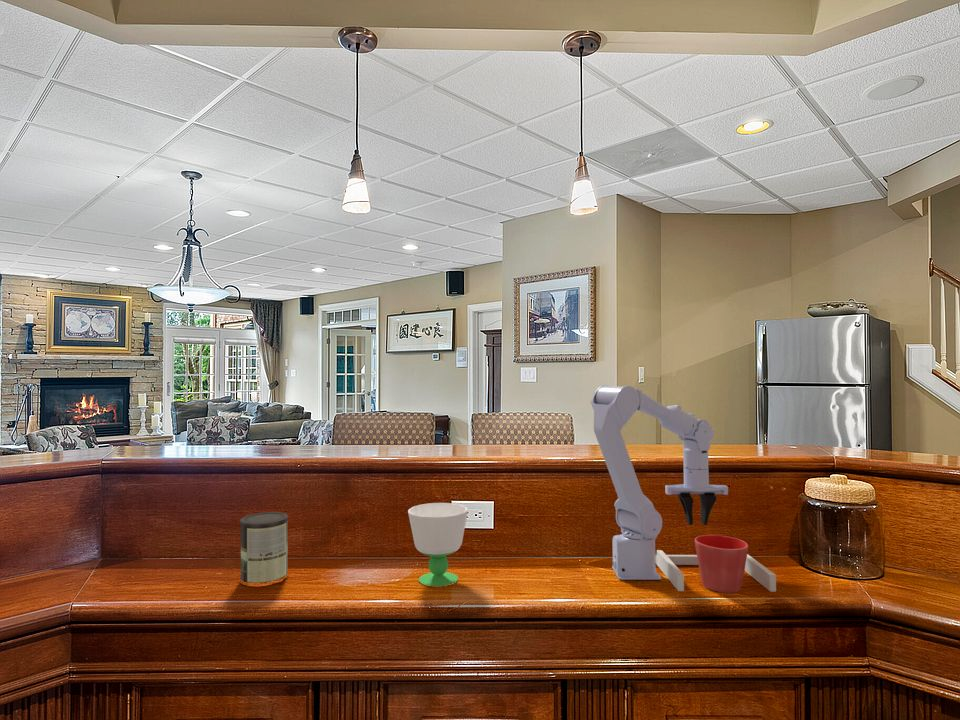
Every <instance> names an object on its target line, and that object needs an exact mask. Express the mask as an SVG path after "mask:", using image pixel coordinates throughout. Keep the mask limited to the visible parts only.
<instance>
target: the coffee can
mask: <svg viewBox="0 0 960 720" xmlns="http://www.w3.org/2000/svg"><path fill="white" fill-rule="evenodd" d="M288 520H289V515H288V514H287V513H284V512H279V511H265V512H257V513H252V514H248V515H245V516H244V517H242V518H240V519H239V523H240V581H241V580H242V581H244V582H247V583H267V582H271V581H275V580H278V579H281V578H283V577H285V576H286V575H287V574H288V573H289V572H288V562H289V561H288V560H289V559H288V549H289V548H288V546H289V545H288Z"/></svg>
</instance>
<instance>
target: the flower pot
mask: <svg viewBox="0 0 960 720" xmlns="http://www.w3.org/2000/svg"><path fill="white" fill-rule="evenodd" d="M694 545H695V551H696V555H697V558H698V564H699V565H698V570H699V573H700V574H699V576H700V579H701V583H702V585H703V586H704V588H707V589H708V590H711V591H714V592H719V593H737V592H739V591H740V590H741V589H742V584H743V581H744V580H743V579H744V575H745V564H746V559H747V554H748V552H749V544H748V543H747V542H746V541H744V540H742V539H739V538H736V537H733V536H728V535H727V536H726V535H720V534H719V535H718V534H705V535H704V534H703V535H698V536H696V537H695V538H694Z"/></svg>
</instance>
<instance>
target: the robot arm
mask: <svg viewBox="0 0 960 720" xmlns="http://www.w3.org/2000/svg"><path fill="white" fill-rule="evenodd" d="M590 404H591V406H592V410H593V431H594V434H595V435H594V436H595V437H596V441H597V443H598V446H599V448H600V451H601V454H602V457H603V459H604V463H605V465H606V467H607V470H608V473H609V477H610V478H611V481H612V484H613V487H614V489H615V493H616V494H617V495H616V496H617V499H616V500H615V502H614V504H613V506H614V509H615V521H616V524H617V525H618V527H619V528H620V532H621V534H616V535H613V537H612V543H611V544H612V566H611V569H613V572H614V574H615V575H616V577H617V579H618V580H621V581H622V580H625V581H626V580H627V581H629V580H631V581H633V580H637V581H638V580H640V581H641V580H642V581H647V580H649V581H653V580H654V581H655V580H659V581H660V580H662V577H661V575H660V574H659V573H658V571H657V570H656V566H657V565H656V539H657V538H658V535H659V534H660V532H661V530H662V528H663V518H662V515H661V514H660V513H659V511H657V510H656V508H655V506H654V504H653V502H652V501H651V500H650V499H649V498H648V497H647V496H646V495H645V494H644V493H643V490H642V488H641V486H640V482H639V480H638V477H637V475H636V474H637V473H636V472H635V469H634V466H633V465H634V464H632V459H631V457H630V454H629V451H628V449H627V446H626V444H625V441H624V438H623V435H622V432H621V431H622V429H623V428H624V427H625V426H626V424H627V423H628V422H629V420H630V419H631V418H632V417H633V416H634V414H635V413H636V412H637V411H640V412H642V413H644V414H646V415H648V416H650V417H653V418H656V419H658V422H659V424H660V426H661V427H662V428H664V429H665V430H668V431H670V432H671V433H674V434H675V435H677V436H678V438H679V440H681V441H682V446H683V447H682V449H683V450H682V451H683V452H682V453H683V454H682V455H683V458H682V459H683V483H682V484H681V483H680V484H668V485H667V484H666V485H665V490H664V492H665V494H666V495H668V496H671V495H677V497H678V500H679V501H680V504H681V507H682V508H683V512H684V515H685V519H686V524H688V526H693V523H694V521H693V520H694V519H693V509H694V508H693V507H694V497H692V495H698V496H699V502H700V523H701V524H702V525H704V526H708V521H709V517H710V514H711V511H712V509H713V507H714V505H715V503H716V502H717V495H725V496H728V495H729V487H728V486H727V485H726V484H725V485H724V484H710V477H709V476H710V475H709V473H710V472H709V469H710V468H709V450H710V448H711V443H712V439H713V438H714V434H715V433H714V430H713V427H712V425H711V424H710V422H709V421H708V420H706V419H699V418H697V417H696V415H695V414H693V413H690V412H689V413H688V412H686V411H684V410H682V406H680V405H676V404H673V405H668V406H665V405H663V404H662V403H660V402H658V401H657V400H655V399H653V398H652V397H650V396H648V395H647V394H645V393H644V392H643V391H642V390H641V389H638V388H637V389H636V388H635V387H634V386H631V385H624V386H622V385H621V386H618V385H617V386H613V385H612V386H611V385H606V384H605V385H600V386H599V387H598V388H596V390H595V391H594V394H592V397H591V400H590Z"/></svg>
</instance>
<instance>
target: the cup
mask: <svg viewBox="0 0 960 720" xmlns="http://www.w3.org/2000/svg"><path fill="white" fill-rule="evenodd" d="M468 512H469V510H468V507H467V506H464V505H463V504H459V503H452V502H451V503H450V502H430V503H424V504H418V505H414V506H412V507H410V508H409V509H408V510H407V513H408V518H409V519H408V520H409V524H410V528H411V529H410V530H411V533H412V537H413V538H412V539H413V544H414V547H415V548H416V550H417V551H418V552H420V553H421V554H423V555H424V556H428V557H430V558H429V560H428V570H429V571H430V572H428V573H425V574H422V575H421V576H420V577H419V578H418V583H419V582H420V583H419V584H421V583H422V584H424V585H427V586H426V587H428V586H429V585H430V586H445V585H449V584H452V583H455V582H456V581H457V580H458V581H459V576H458V575H457V574H455V573H452V572H447V570H448V569H449V561H448V559H447V556H449V555H452V554H454V553H456V552H457V551H458V550H459V549H460V548H461V546H462V545H463V539H464V534H465V529H466V523H467V518H468ZM458 581H457V582H458ZM457 582H456V583H457ZM456 583H455V584H456ZM422 584H421V585H422ZM424 585H423V586H424ZM452 585H453V584H452ZM445 587H446V586H445Z"/></svg>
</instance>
